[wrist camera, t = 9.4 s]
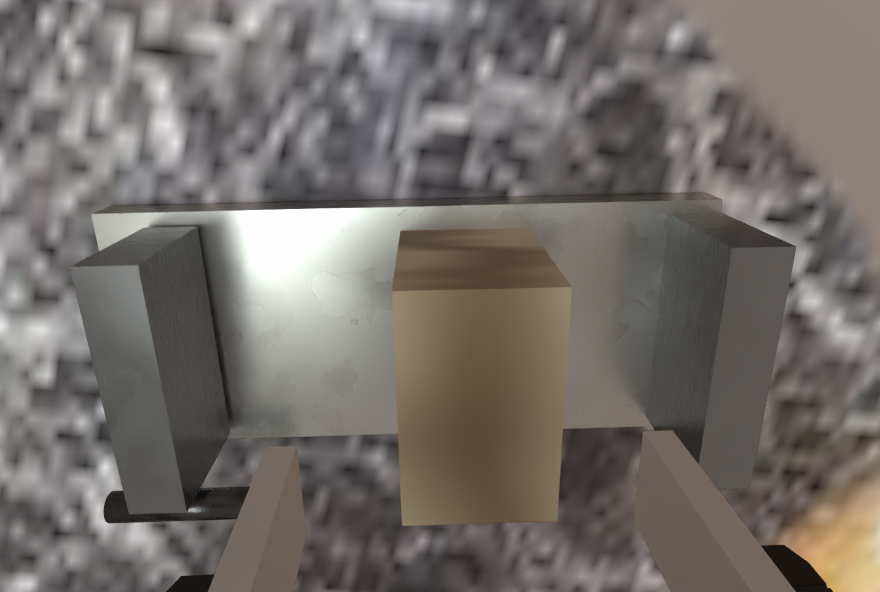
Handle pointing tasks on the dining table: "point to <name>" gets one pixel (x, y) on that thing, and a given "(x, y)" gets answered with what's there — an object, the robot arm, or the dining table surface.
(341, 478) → the dining table surface
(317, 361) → the vise bed
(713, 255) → the fixed jaw
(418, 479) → the block
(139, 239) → the sliding jaw
